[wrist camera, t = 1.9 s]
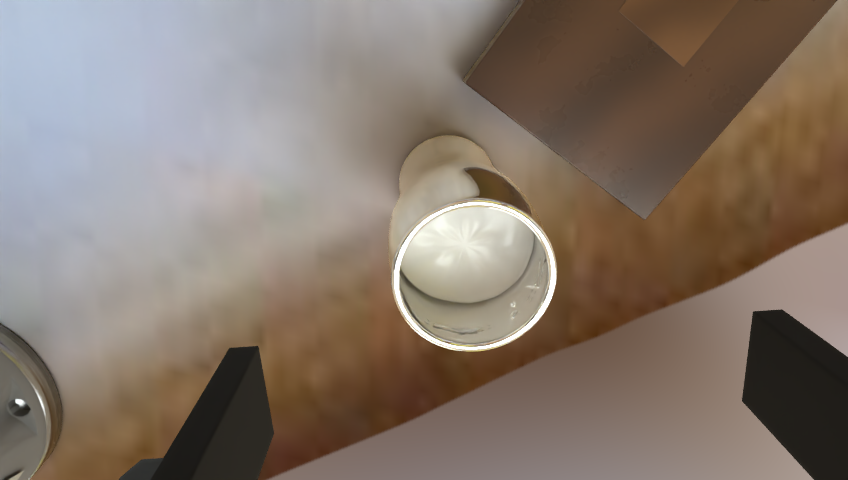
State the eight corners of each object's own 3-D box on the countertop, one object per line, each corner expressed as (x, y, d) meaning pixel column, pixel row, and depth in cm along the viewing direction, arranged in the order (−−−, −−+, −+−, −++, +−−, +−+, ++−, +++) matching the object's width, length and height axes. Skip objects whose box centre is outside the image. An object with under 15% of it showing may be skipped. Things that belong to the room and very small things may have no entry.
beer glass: (422, 107, 35) (435, 162, 21) (522, 158, 37) (596, 241, 22) (373, 206, 37) (356, 316, 23) (469, 251, 39) (507, 381, 25)
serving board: (461, 80, 35) (464, 83, 33) (710, -264, 30) (731, -285, 28) (633, 211, 38) (645, 221, 36) (886, -81, 33) (916, -89, 31)
